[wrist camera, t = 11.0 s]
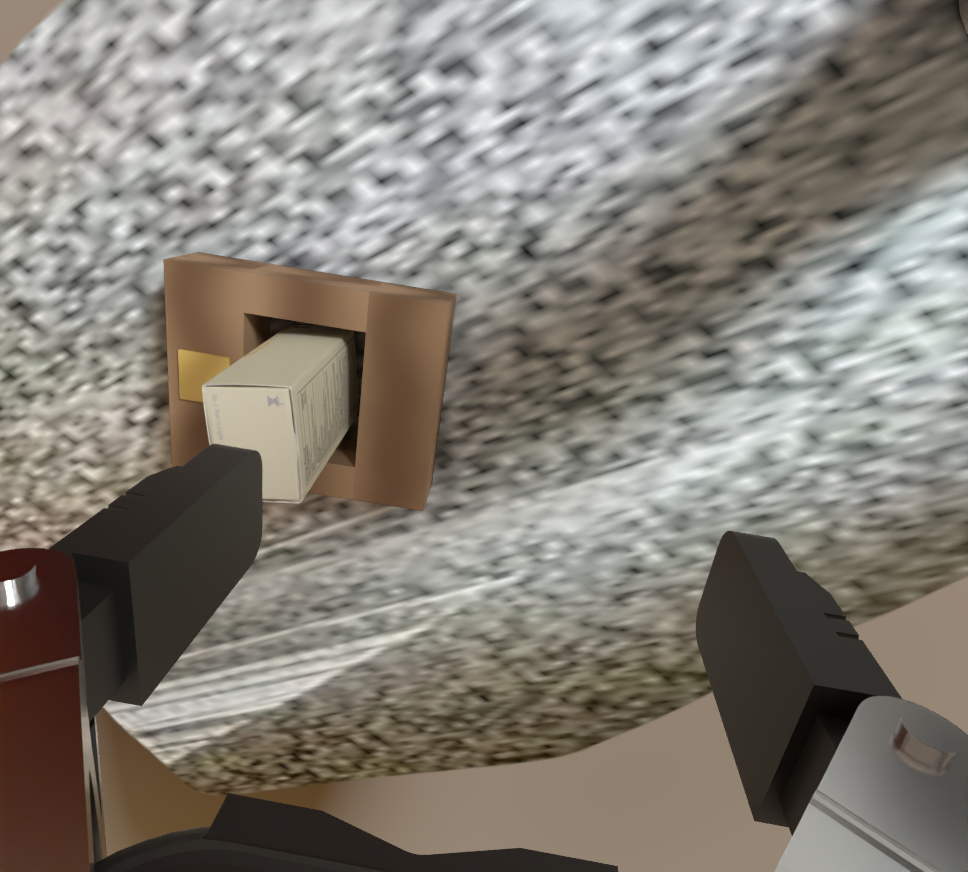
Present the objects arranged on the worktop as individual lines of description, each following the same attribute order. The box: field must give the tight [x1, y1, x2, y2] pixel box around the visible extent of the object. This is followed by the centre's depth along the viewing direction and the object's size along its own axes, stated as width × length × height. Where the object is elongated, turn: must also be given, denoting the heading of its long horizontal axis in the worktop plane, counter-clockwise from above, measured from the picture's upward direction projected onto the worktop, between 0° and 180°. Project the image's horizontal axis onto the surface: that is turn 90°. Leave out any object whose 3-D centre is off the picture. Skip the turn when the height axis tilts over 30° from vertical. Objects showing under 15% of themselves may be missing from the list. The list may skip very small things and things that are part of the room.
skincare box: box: [202, 325, 358, 504], centre depth 35 cm, size 6×4×12 cm
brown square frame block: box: [164, 252, 457, 511], centre depth 39 cm, size 16×13×4 cm
